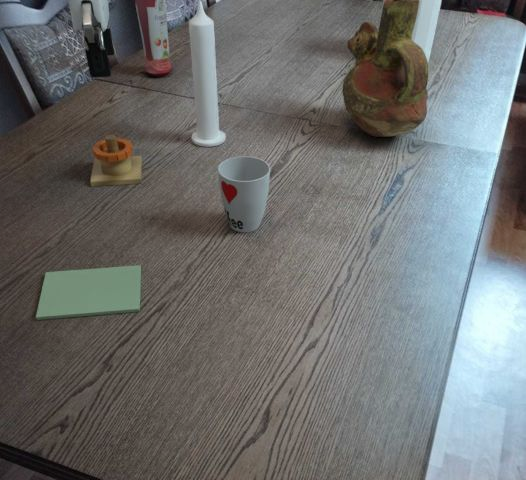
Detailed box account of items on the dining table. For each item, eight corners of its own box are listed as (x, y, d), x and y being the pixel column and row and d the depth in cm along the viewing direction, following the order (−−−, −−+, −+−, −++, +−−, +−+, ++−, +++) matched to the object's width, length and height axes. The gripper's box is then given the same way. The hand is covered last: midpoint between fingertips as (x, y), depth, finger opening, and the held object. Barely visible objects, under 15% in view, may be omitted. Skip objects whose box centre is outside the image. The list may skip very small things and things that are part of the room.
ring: (92, 163, 98) (91, 156, 97) (95, 145, 103) (94, 139, 102) (132, 160, 99) (131, 154, 98) (133, 143, 104) (132, 137, 103)
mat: (36, 320, 75) (35, 317, 75) (46, 275, 82) (45, 272, 82) (140, 311, 77) (139, 308, 76) (141, 268, 84) (140, 264, 83)
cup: (214, 215, 94) (211, 160, 86) (259, 207, 96) (259, 152, 89) (229, 241, 88) (227, 185, 81) (276, 232, 90) (278, 176, 83)
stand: (91, 186, 100) (82, 150, 95) (95, 163, 106) (87, 127, 101) (141, 183, 101) (135, 147, 96) (142, 160, 107) (136, 124, 102)
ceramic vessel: (373, 99, 129) (392, -28, 111) (447, 145, 113) (483, 5, 95) (310, 113, 123) (319, -18, 105) (378, 163, 107) (403, 18, 89)
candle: (186, 145, 112) (173, 4, 94) (197, 130, 117) (187, -7, 99) (220, 149, 111) (213, 7, 93) (229, 134, 116) (224, -4, 98)
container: (373, 48, 153) (384, -28, 140) (424, 50, 153) (440, -27, 140) (378, 67, 143) (390, -14, 130) (434, 69, 143) (451, -12, 130)
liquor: (161, 81, 135) (144, -58, 115) (138, 75, 138) (118, -62, 118) (179, 72, 140) (166, -64, 120) (157, 66, 142) (140, -68, 122)
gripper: (58, -74, 84) (84, 48, 96) (42, -50, 72) (74, 86, 84) (108, -75, 84) (128, 46, 97) (101, -51, 72) (124, 84, 85)
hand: (103, 65), depth 90 cm, fingers open, 9 cm apart
